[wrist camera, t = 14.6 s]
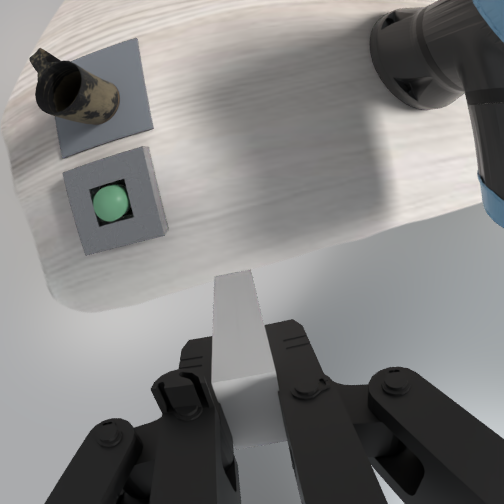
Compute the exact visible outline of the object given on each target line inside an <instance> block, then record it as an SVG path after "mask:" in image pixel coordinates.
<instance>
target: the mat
mask: <svg viewBox="0 0 504 504" xmlns="http://www.w3.org/2000/svg"><path fill="white" fill-rule="evenodd" d="M71 62H72V63H75V64H76V65H78V66H80V67H81V68H83V69H84V70H86V71H88V72H90V73H91V74H93V75H95V76H97V77H99V78H101V79H103V80H106V81H108V82H110V83H112V84H114V85H115V86H116V87H117V89H118V91H119V95H120V104H119V107H118V110H117V111H116V113H115V115H114V116H113V117H112V118H111V119H110V120H108V121H107V122H105V123H102V124H99V125H93V124H84V123H79V122H74V121H70V120H66V119H63V118H59V117H56V116H55V120H56V126H57V132H58V138H59V143H60V148H61V153H62V158H66V157H68V156H71V155H74V154H76V153H79V152H82V151H84V150H87V149H90V148H93V147H96V146H99V145H102V144H105V143H108V142H111V141H114V140H117V139H120V138H123V137H127V136H130V135H133V134H137V133H140V132H143V131H147V130H150V129H154V128H153V123H152V118H151V113H150V108H149V102H148V97H147V92H146V86H145V81H144V75H143V70H142V64H141V58H140V52H139V45H138V39H137V38H134V39H131V40H128V41H125V42H122V43H119V44H116V45H113V46H110V47H107V48H104V49H101V50H99V51H96V52H93V53H91V54H88V55H86V56H83V57H81V58H78V59H76V60H73V61H71Z"/></svg>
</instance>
